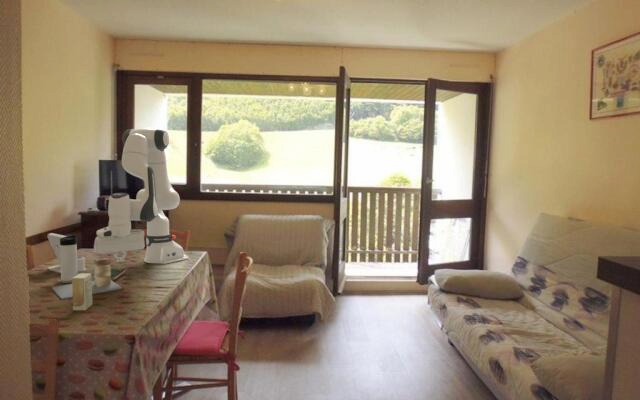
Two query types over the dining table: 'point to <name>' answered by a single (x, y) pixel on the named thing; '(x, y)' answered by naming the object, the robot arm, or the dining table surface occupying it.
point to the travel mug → (68, 258)
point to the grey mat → (67, 292)
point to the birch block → (102, 272)
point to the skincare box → (82, 291)
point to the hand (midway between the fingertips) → (120, 261)
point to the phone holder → (55, 241)
